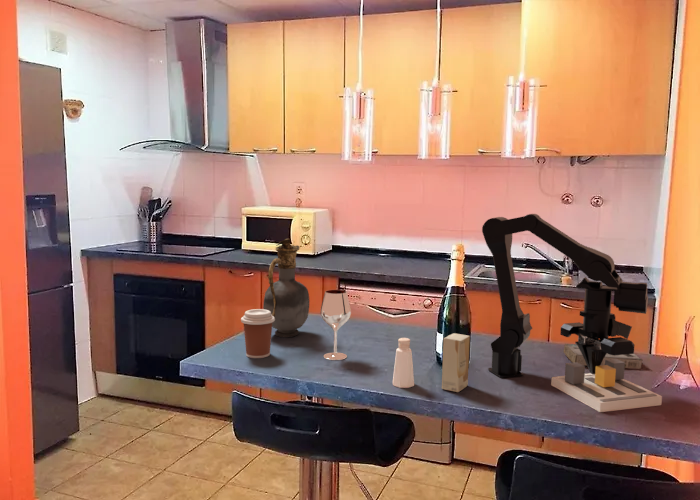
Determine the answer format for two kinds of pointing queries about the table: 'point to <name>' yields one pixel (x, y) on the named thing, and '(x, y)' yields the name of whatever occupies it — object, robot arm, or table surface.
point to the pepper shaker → (403, 365)
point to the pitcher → (286, 293)
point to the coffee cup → (257, 332)
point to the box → (629, 359)
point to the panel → (604, 389)
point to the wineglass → (335, 316)
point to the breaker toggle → (605, 376)
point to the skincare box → (455, 362)
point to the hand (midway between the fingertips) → (593, 373)
